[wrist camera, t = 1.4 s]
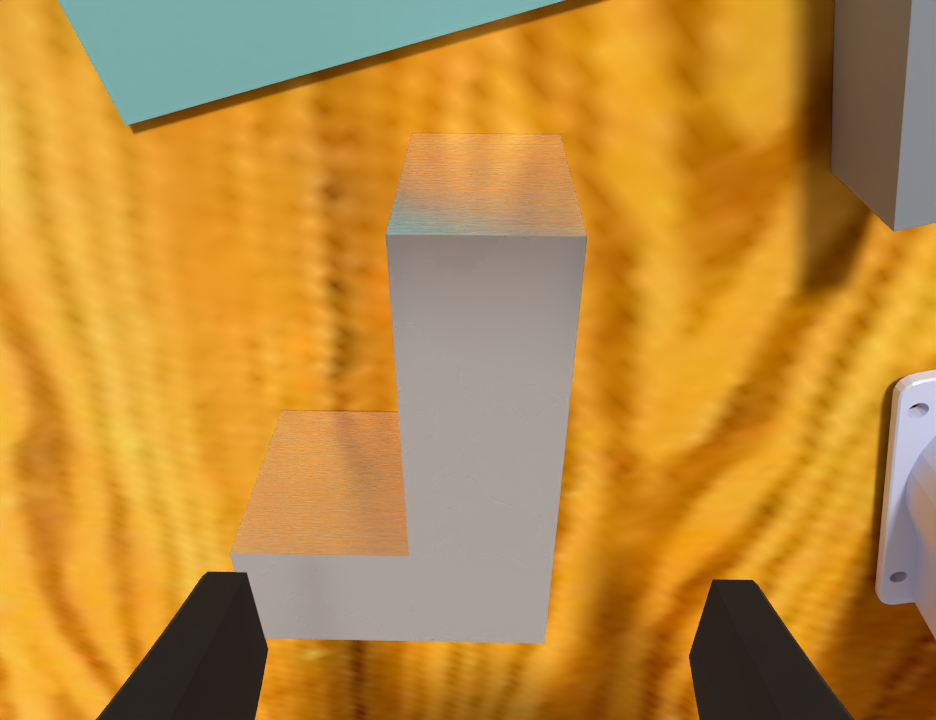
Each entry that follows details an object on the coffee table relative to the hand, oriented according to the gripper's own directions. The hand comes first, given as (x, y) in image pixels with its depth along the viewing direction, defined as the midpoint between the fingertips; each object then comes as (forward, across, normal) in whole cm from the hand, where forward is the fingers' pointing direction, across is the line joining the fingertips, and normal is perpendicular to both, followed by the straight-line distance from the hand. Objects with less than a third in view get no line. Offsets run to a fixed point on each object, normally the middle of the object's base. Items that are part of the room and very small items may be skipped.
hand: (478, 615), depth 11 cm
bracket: (+8, +2, +1) cm, 9 cm away
